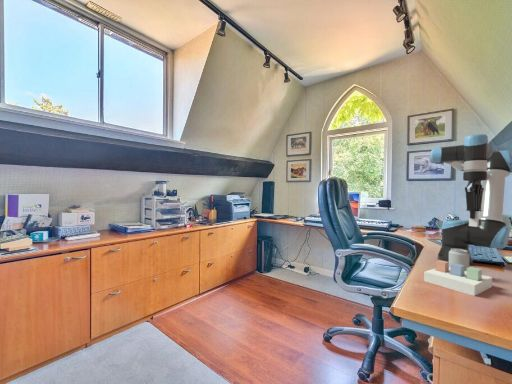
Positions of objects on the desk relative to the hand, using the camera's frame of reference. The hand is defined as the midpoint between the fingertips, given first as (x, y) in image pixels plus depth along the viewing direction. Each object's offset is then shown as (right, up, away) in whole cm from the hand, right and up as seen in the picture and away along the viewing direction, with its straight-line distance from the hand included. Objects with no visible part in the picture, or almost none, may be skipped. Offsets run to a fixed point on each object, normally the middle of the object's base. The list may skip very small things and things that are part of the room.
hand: (473, 226), depth 103 cm
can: (+2, -25, +9) cm, 26 cm away
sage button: (-5, -21, -6) cm, 23 cm away
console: (-8, -24, -1) cm, 26 cm away
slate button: (-8, -21, -1) cm, 23 cm away
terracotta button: (-11, -21, +3) cm, 24 cm away
